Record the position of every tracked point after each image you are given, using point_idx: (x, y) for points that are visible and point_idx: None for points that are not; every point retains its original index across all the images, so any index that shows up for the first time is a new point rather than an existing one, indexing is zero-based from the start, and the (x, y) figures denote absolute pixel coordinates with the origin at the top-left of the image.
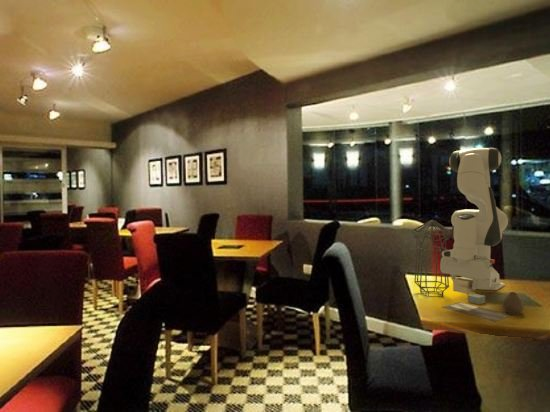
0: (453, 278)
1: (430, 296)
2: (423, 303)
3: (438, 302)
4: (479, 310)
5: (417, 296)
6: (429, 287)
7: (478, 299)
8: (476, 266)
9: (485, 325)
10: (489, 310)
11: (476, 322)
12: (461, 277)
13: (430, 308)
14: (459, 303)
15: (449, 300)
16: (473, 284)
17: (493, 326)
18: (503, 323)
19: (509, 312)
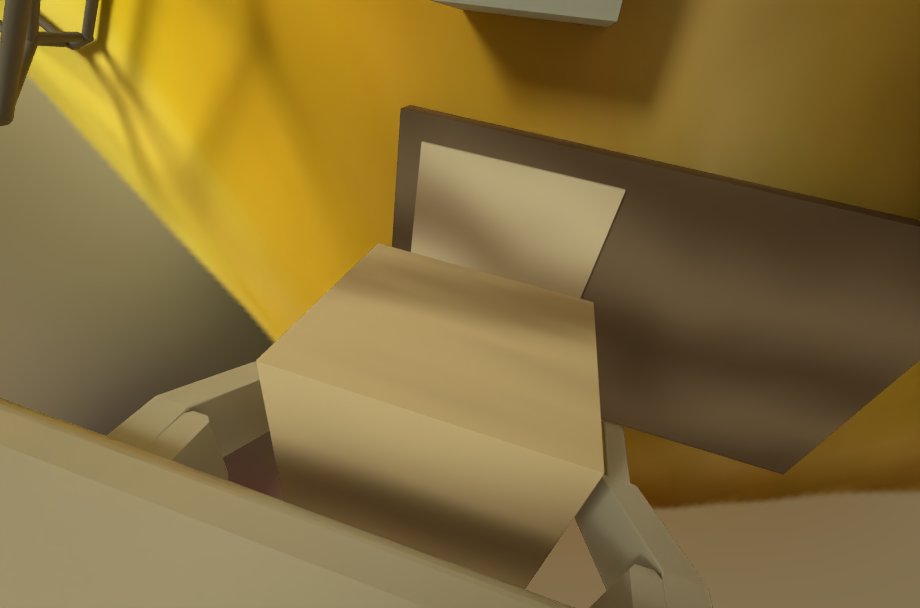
0: (232, 439)
1: (93, 24)
2: (239, 273)
3: (266, 173)
4: (645, 287)
5: (61, 103)
6: (10, 95)
7: (599, 21)
8: None
9: (707, 489)
10: (747, 228)
11: (649, 465)
12: (278, 393)
13: None
14: (426, 179)
15: (263, 4)
16: (600, 539)
17: (758, 490)
18: (845, 425)
19: None
